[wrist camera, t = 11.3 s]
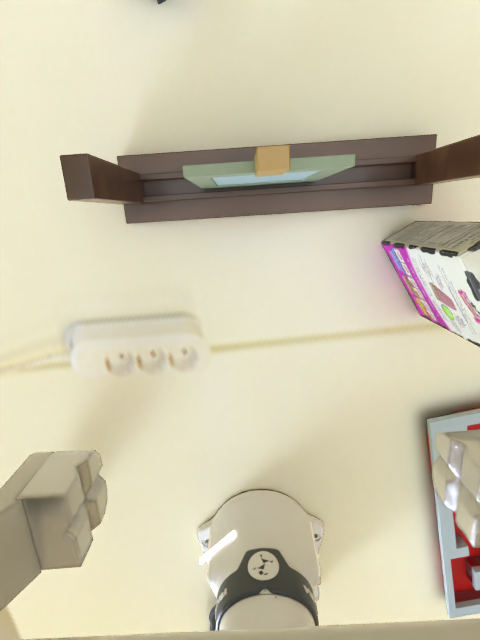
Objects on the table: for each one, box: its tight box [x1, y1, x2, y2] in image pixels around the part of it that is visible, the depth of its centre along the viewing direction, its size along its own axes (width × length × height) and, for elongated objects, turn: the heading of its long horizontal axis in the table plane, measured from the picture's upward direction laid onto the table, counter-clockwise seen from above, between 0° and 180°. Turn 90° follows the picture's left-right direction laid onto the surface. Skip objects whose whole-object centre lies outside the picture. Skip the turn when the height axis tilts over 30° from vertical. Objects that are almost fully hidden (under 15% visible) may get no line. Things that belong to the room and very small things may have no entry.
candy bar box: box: [381, 221, 480, 347], centre depth 37 cm, size 11×5×16 cm, turn 34°
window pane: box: [182, 145, 355, 189], centre depth 31 cm, size 1×12×18 cm, turn 94°
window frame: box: [60, 134, 480, 224], centre depth 34 cm, size 7×34×17 cm, turn 94°
